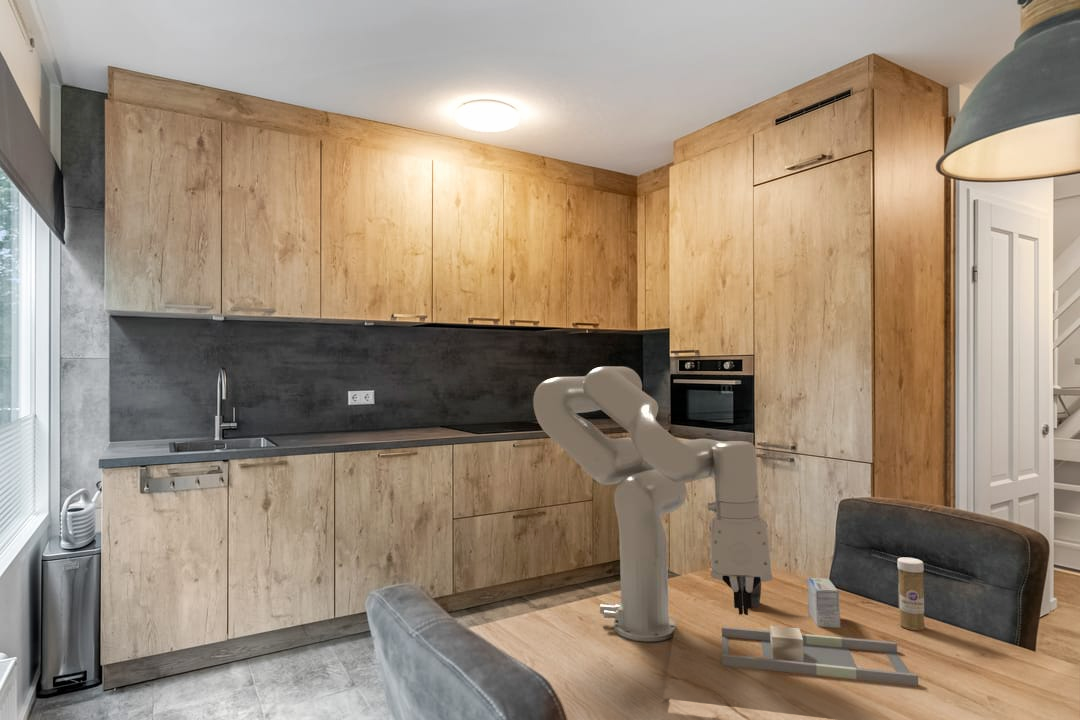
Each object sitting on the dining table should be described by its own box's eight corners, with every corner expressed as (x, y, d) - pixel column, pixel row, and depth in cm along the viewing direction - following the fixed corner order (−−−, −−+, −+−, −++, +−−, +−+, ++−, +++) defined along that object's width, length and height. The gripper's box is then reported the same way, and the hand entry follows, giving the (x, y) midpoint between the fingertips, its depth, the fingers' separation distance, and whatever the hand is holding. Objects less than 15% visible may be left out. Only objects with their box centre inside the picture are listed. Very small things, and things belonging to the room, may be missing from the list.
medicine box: (841, 635, 123) (840, 591, 123) (816, 634, 123) (815, 589, 124) (830, 620, 130) (829, 578, 131) (808, 618, 131) (807, 577, 131)
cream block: (772, 659, 109) (772, 636, 109) (770, 647, 114) (769, 625, 114) (803, 663, 108) (803, 639, 108) (799, 650, 113) (799, 628, 113)
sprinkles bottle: (905, 631, 124) (903, 562, 124) (895, 622, 129) (893, 556, 129) (929, 631, 124) (927, 563, 124) (918, 622, 128) (916, 556, 128)
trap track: (722, 673, 108) (722, 655, 108) (722, 642, 120) (721, 626, 120) (918, 695, 100) (918, 676, 100) (896, 659, 112) (895, 642, 112)
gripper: (694, 513, 112) (700, 617, 111) (783, 514, 108) (789, 622, 107) (695, 505, 119) (701, 603, 118) (779, 506, 115) (785, 607, 114)
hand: (743, 612), depth 113 cm, fingers closed
